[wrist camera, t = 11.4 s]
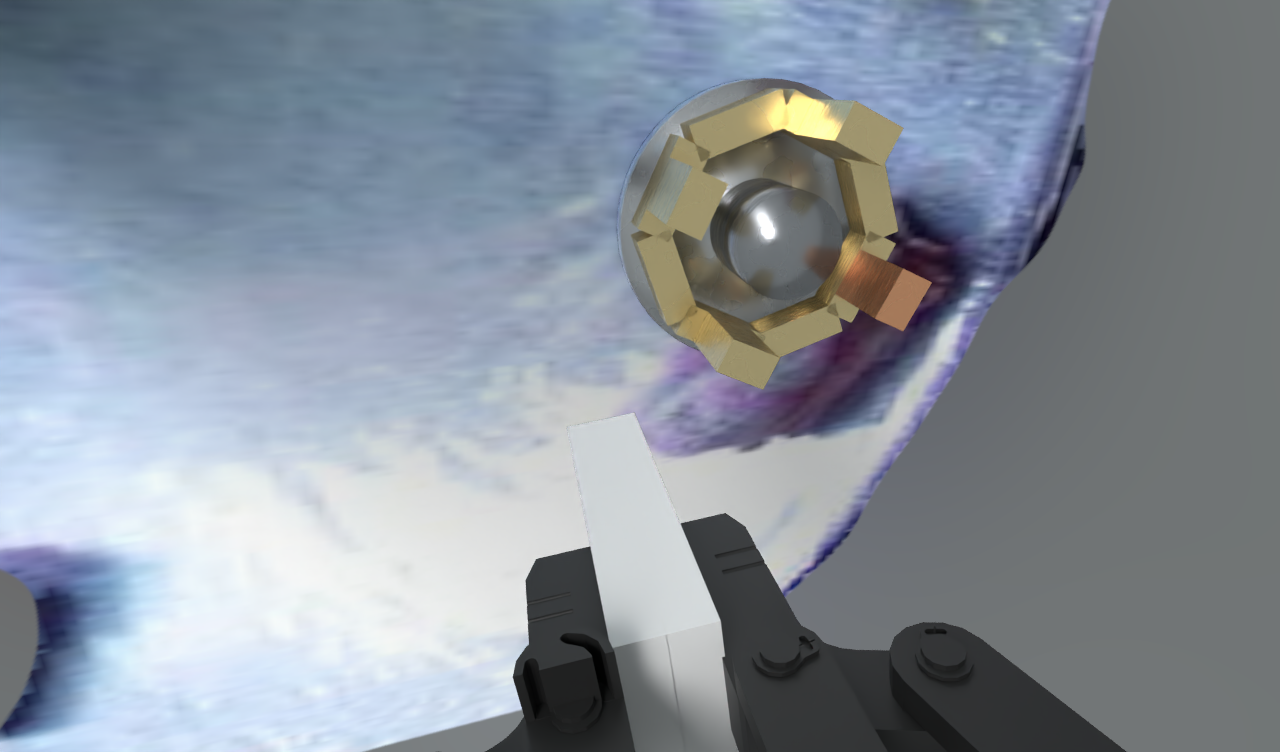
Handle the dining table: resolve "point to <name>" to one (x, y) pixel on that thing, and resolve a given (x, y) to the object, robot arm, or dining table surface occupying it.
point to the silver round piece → (746, 216)
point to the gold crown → (694, 196)
